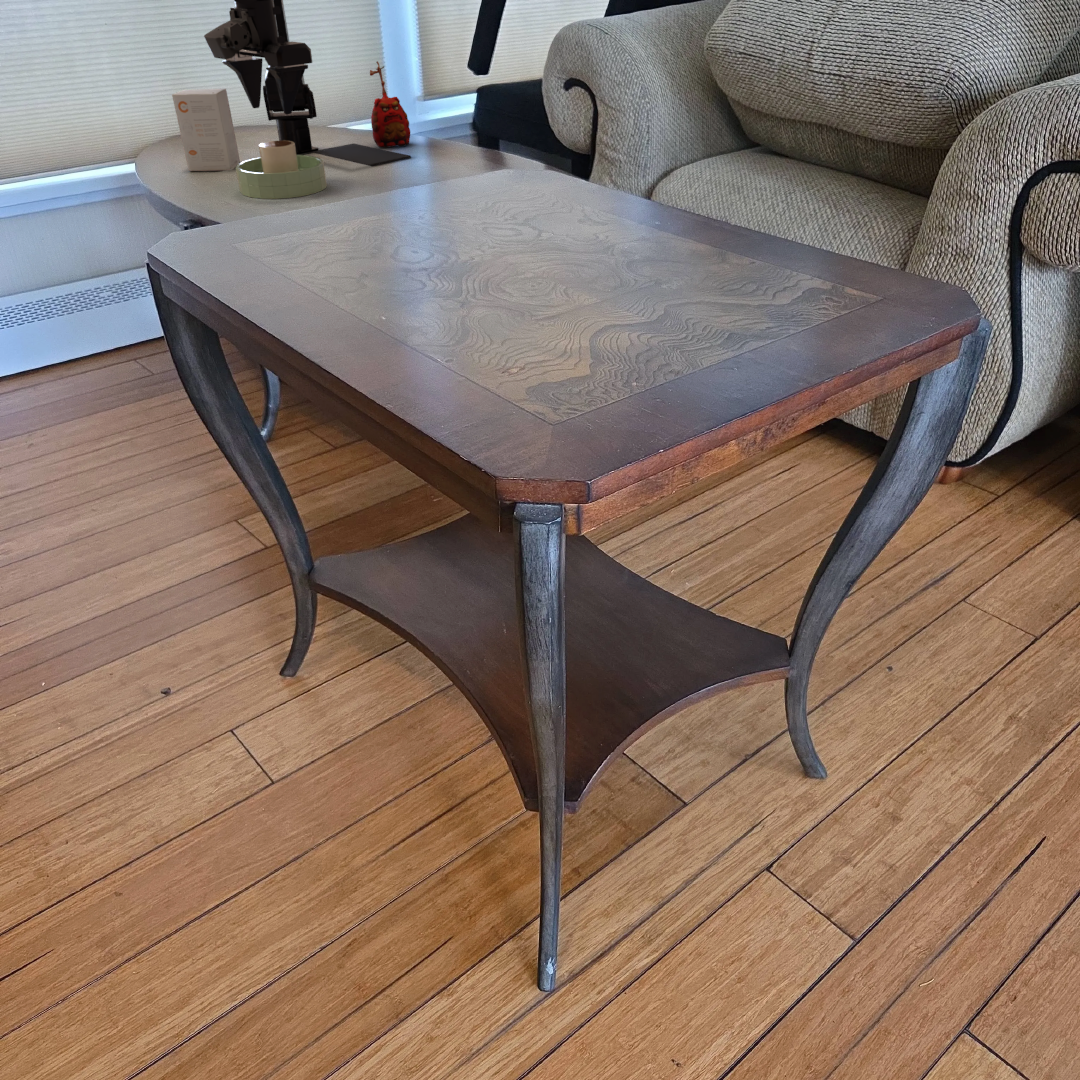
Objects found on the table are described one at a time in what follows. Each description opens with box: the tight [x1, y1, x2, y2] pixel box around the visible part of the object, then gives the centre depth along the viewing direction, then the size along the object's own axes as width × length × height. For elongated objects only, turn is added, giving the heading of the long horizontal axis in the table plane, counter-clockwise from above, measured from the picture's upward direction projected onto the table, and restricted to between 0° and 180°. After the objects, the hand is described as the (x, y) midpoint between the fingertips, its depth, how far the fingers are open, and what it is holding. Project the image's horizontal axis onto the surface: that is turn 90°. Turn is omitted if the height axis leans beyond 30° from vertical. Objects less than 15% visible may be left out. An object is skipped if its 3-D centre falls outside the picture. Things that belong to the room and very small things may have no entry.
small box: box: [171, 88, 241, 172], centre depth 171 cm, size 8×6×13 cm
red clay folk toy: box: [369, 60, 411, 149], centre depth 185 cm, size 8×7×15 cm
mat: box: [298, 143, 412, 167], centre depth 180 cm, size 18×14×1 cm
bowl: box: [235, 154, 328, 200], centre depth 157 cm, size 14×14×4 cm
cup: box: [258, 140, 299, 173], centre depth 156 cm, size 6×6×7 cm
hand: (271, 110), depth 151 cm, fingers open, 9 cm apart
